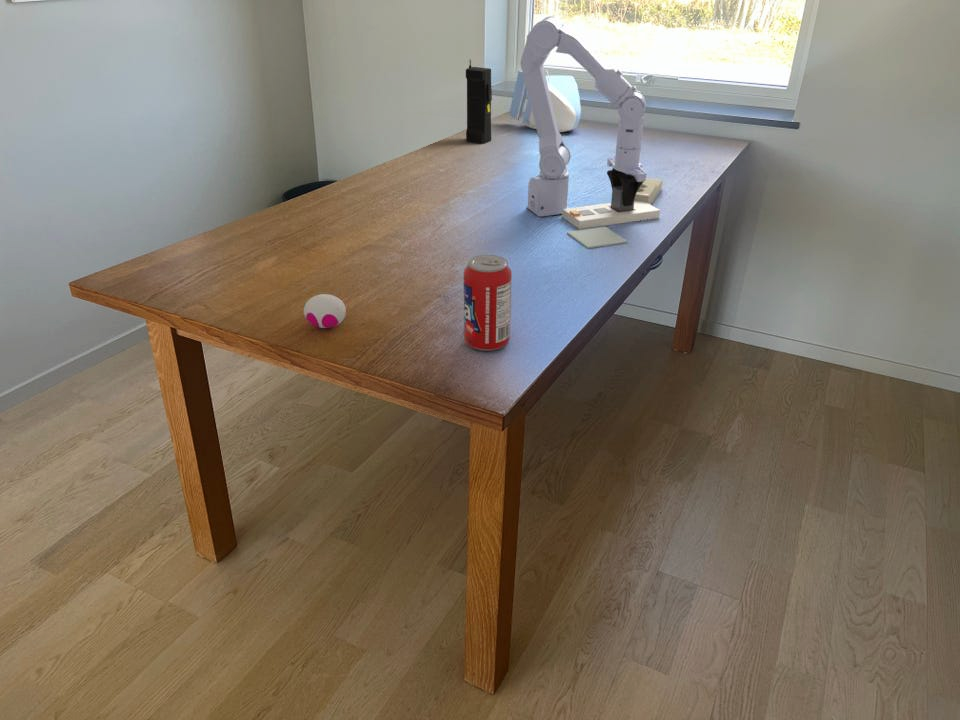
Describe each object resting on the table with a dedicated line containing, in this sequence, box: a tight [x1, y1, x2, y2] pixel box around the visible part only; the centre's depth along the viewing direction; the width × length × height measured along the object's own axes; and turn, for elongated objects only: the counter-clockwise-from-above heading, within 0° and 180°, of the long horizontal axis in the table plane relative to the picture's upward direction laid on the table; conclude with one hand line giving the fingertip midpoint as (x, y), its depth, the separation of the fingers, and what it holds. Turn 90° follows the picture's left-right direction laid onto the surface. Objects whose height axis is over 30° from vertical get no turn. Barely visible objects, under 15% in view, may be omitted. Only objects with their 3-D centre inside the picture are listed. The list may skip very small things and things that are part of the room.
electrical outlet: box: [635, 177, 663, 205], centre depth 196 cm, size 7×4×18 cm
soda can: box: [463, 254, 513, 352], centre depth 125 cm, size 8×8×15 cm
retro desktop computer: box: [508, 67, 582, 133], centre depth 257 cm, size 25×23×16 cm
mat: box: [566, 226, 628, 250], centre depth 172 cm, size 10×10×1 cm
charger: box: [610, 186, 635, 213], centre depth 183 cm, size 4×4×7 cm
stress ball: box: [303, 293, 347, 329], centre depth 133 cm, size 8×8×7 cm
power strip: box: [561, 200, 661, 230], centre depth 183 cm, size 22×9×3 cm, turn 111°
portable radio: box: [465, 60, 493, 144], centre depth 241 cm, size 8×6×25 cm
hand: (622, 202), depth 183 cm, fingers closed on charger, 4 cm apart
